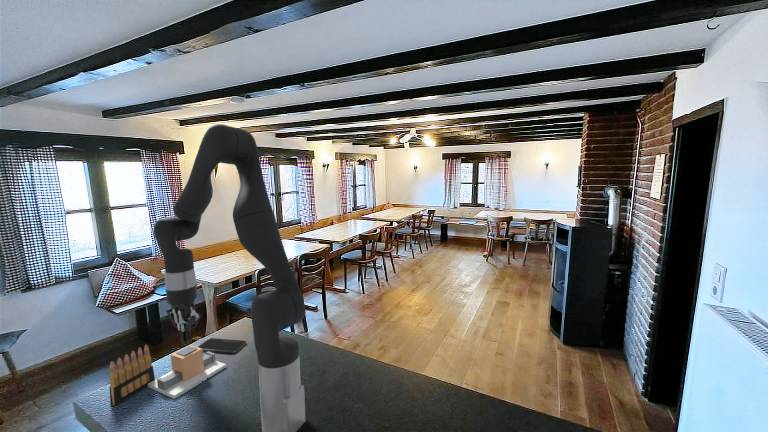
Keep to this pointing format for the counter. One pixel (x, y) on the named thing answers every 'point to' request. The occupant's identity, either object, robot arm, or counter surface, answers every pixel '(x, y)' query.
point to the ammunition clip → (130, 376)
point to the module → (188, 362)
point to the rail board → (176, 387)
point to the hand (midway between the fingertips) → (185, 341)
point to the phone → (222, 346)
